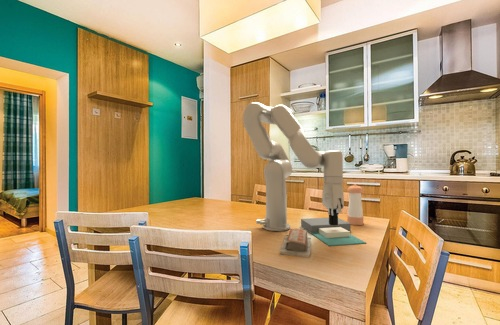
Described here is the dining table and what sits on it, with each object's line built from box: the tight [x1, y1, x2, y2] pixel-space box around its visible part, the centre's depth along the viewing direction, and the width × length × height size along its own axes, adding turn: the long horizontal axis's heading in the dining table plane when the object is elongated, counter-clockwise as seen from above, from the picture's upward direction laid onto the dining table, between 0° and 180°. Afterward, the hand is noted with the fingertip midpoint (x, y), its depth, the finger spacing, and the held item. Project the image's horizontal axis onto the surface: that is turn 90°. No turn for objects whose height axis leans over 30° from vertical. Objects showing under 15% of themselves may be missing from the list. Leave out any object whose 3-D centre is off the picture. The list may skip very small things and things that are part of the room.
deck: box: [300, 217, 352, 235], centre depth 111 cm, size 18×12×4 cm, turn 99°
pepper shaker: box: [346, 183, 364, 226], centre depth 119 cm, size 7×7×19 cm
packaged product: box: [279, 228, 312, 258], centre depth 89 cm, size 18×5×10 cm
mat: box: [311, 233, 367, 247], centre depth 97 cm, size 15×15×1 cm
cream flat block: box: [319, 227, 351, 238], centre depth 101 cm, size 10×7×2 cm
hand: (333, 224), depth 101 cm, fingers closed
